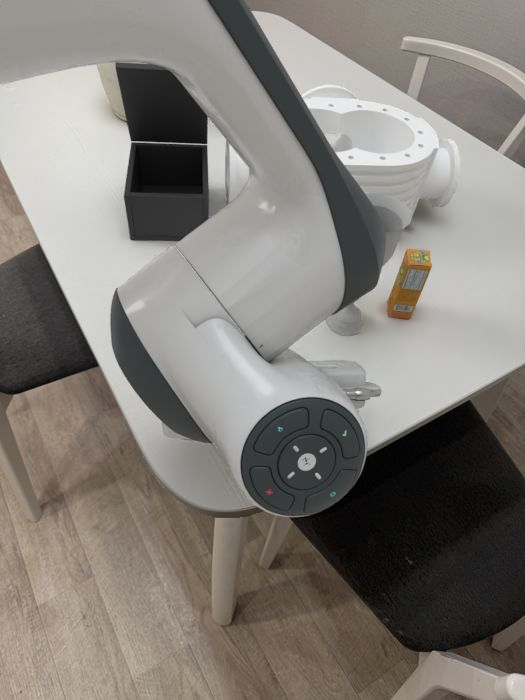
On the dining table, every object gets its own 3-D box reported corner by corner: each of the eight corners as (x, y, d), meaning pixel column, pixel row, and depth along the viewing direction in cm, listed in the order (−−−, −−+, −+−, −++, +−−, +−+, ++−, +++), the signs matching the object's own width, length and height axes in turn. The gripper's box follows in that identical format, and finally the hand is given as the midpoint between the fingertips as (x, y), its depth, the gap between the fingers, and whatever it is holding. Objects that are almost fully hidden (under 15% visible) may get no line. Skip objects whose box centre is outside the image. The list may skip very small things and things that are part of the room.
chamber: (208, 241, 78) (208, 197, 72) (130, 240, 76) (123, 195, 70) (207, 188, 86) (207, 144, 80) (136, 186, 85) (131, 141, 79)
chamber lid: (208, 72, 66) (207, 39, 67) (115, 67, 64) (116, 34, 66) (207, 144, 79) (207, 116, 81) (130, 141, 78) (131, 113, 79)
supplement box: (384, 300, 73) (406, 245, 65) (408, 303, 73) (433, 249, 65) (385, 317, 71) (408, 263, 63) (410, 320, 71) (436, 267, 63)
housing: (229, 244, 78) (233, 160, 67) (221, 161, 91) (223, 80, 80) (445, 244, 82) (483, 165, 71) (408, 165, 96) (434, 88, 85)
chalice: (333, 346, 67) (367, 238, 53) (309, 310, 71) (335, 199, 56) (380, 332, 69) (424, 224, 55) (354, 297, 73) (390, 188, 59)
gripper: (390, 358, 43) (344, 341, 57) (142, 361, 41) (157, 342, 54) (387, 431, 44) (343, 397, 58) (144, 438, 42) (158, 401, 55)
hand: (251, 370), depth 56 cm, fingers closed on pill bottle, 6 cm apart
